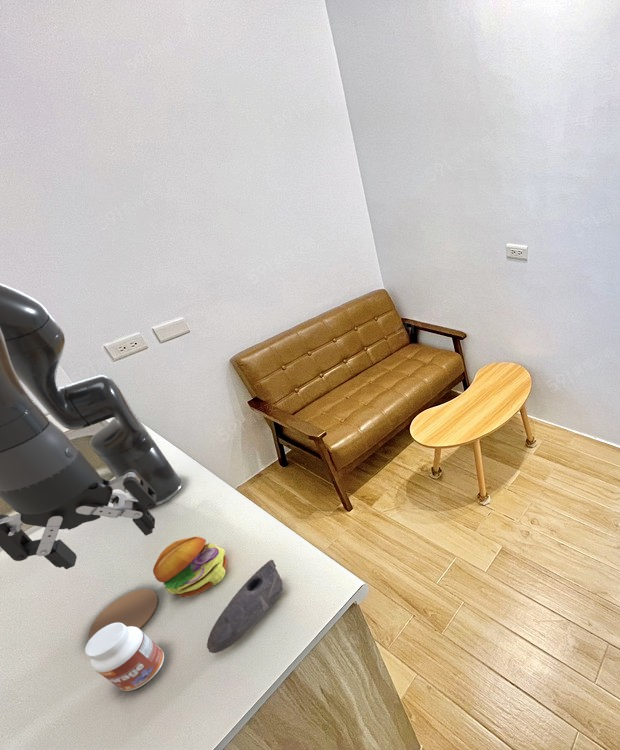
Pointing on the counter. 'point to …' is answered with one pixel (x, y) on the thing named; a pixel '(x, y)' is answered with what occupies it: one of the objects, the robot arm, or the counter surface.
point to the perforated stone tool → (246, 608)
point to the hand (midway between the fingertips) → (112, 546)
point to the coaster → (128, 611)
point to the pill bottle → (124, 656)
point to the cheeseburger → (190, 566)
